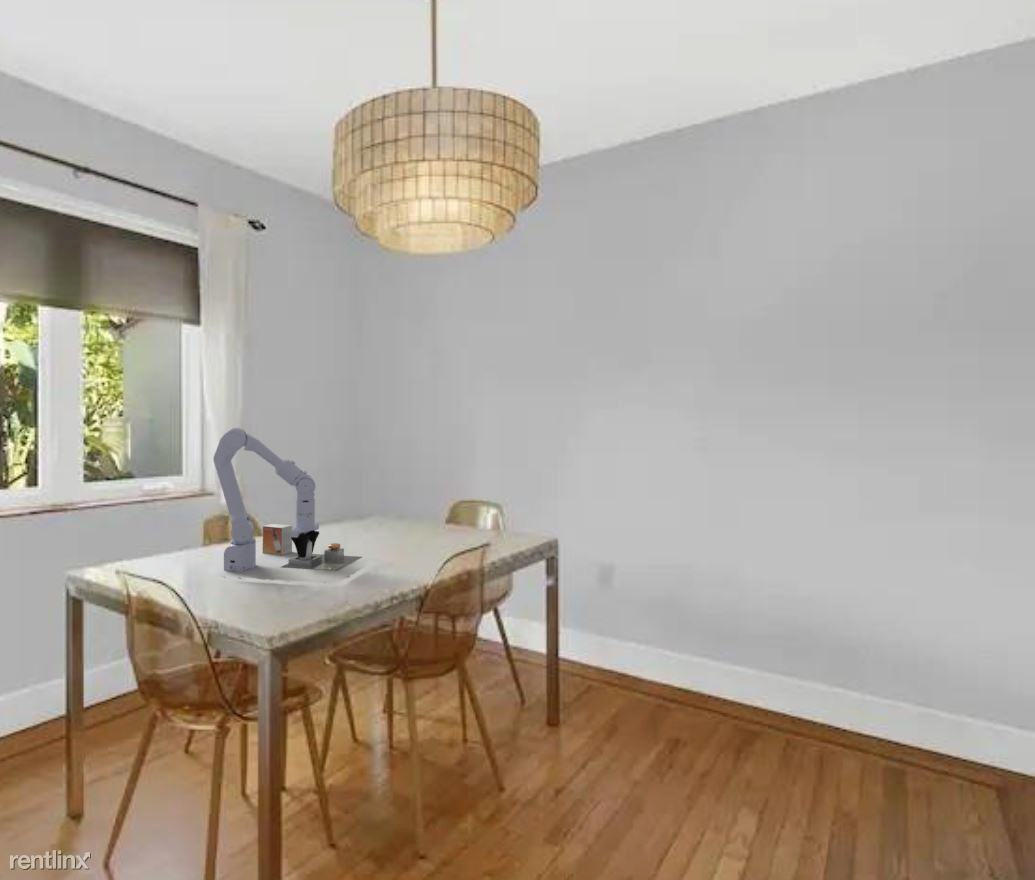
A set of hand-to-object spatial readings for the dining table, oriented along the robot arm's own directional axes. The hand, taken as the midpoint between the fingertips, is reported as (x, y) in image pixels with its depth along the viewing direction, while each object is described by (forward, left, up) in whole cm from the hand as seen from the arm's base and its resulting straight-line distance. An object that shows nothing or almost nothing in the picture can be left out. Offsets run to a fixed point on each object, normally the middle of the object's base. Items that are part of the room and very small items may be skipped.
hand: (305, 555), depth 206 cm
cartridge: (0, 0, -2) cm, 2 cm away
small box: (+11, +16, -4) cm, 20 cm away
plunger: (+6, -7, -2) cm, 9 cm away
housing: (+2, -5, -3) cm, 6 cm away
